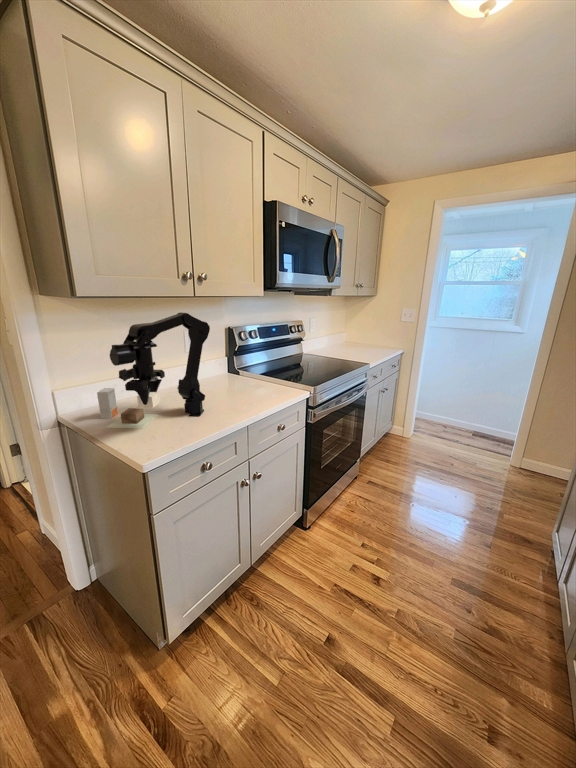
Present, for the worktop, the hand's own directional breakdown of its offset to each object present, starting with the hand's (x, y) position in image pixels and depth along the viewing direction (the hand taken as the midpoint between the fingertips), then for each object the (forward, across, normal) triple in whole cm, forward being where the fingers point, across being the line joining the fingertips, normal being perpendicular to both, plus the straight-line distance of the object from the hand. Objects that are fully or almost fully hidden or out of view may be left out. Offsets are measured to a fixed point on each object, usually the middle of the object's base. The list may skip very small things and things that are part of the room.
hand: (149, 401), depth 117 cm
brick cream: (+1, 0, 0) cm, 1 cm away
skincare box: (+11, -10, -22) cm, 27 cm away
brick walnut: (+10, -6, -10) cm, 15 cm away
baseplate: (+11, -6, -10) cm, 16 cm away
